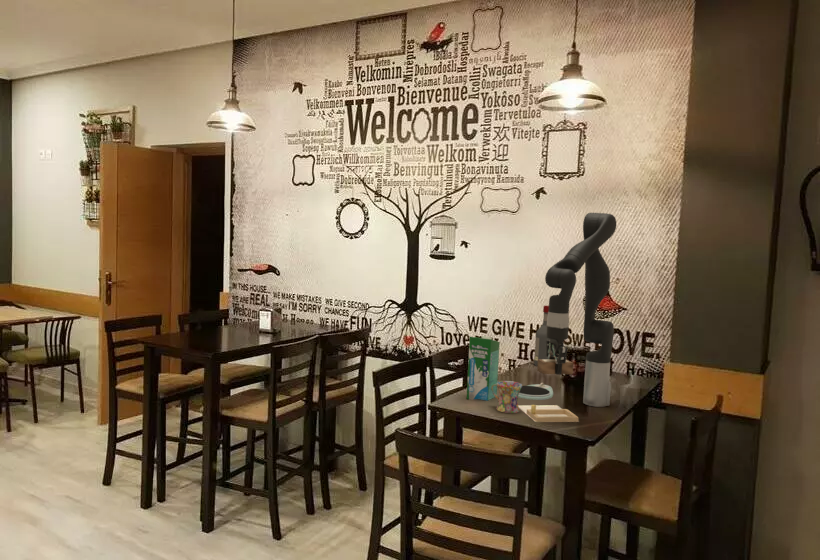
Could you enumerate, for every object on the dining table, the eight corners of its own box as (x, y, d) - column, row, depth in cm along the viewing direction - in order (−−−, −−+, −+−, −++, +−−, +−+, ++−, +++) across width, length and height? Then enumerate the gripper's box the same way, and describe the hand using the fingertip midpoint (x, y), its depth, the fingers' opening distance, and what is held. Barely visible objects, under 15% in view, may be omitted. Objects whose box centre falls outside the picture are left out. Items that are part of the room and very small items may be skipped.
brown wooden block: (566, 370, 229) (567, 358, 229) (572, 374, 224) (573, 362, 224) (537, 370, 228) (537, 358, 227) (542, 374, 222) (543, 362, 222)
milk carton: (496, 398, 253) (500, 336, 251) (487, 403, 246) (490, 339, 243) (475, 394, 258) (479, 333, 256) (466, 399, 250) (469, 336, 248)
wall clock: (565, 384, 267) (543, 396, 246) (565, 393, 267) (543, 406, 246) (526, 377, 277) (502, 388, 256) (526, 386, 277) (501, 397, 256)
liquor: (553, 364, 322) (557, 305, 319) (552, 368, 313) (556, 307, 311) (535, 362, 324) (538, 304, 322) (533, 366, 316) (537, 306, 313)
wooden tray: (556, 407, 243) (557, 393, 243) (578, 424, 224) (579, 409, 223) (516, 408, 241) (517, 393, 240) (535, 424, 221) (536, 409, 220)
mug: (524, 412, 236) (526, 384, 235) (513, 417, 228) (514, 388, 227) (496, 405, 243) (498, 378, 242) (484, 410, 236) (485, 382, 235)
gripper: (540, 321, 231) (537, 367, 232) (555, 328, 217) (552, 377, 218) (559, 322, 232) (556, 367, 233) (576, 328, 218) (573, 377, 219)
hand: (554, 372), depth 226 cm, fingers closed on brown wooden block, 5 cm apart
